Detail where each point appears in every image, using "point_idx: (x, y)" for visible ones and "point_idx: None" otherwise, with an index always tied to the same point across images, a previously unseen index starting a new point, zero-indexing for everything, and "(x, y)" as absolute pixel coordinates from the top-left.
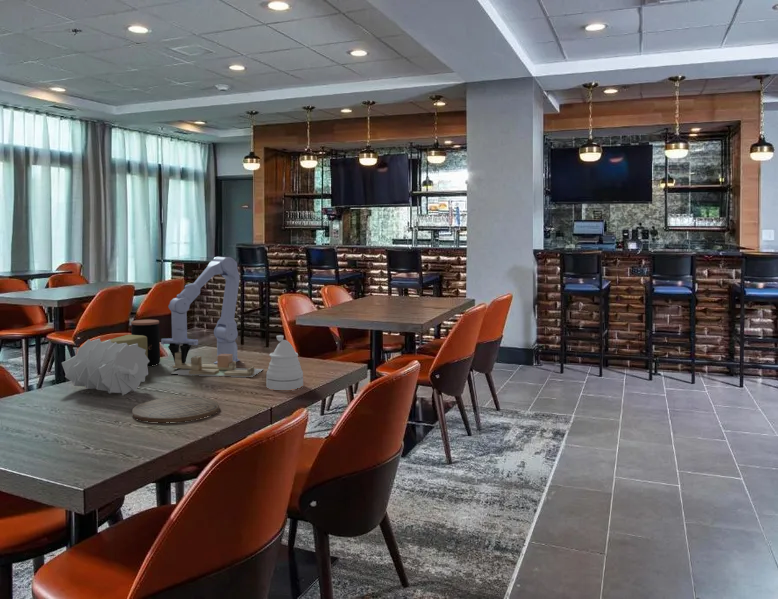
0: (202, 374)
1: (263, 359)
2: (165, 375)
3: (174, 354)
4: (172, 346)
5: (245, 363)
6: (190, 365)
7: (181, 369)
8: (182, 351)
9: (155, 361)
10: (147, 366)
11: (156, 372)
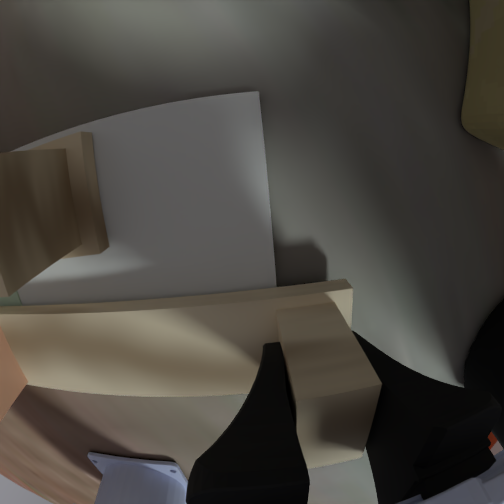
0: None
1: (79, 496)
2: (288, 60)
3: (381, 374)
4: (451, 428)
5: (69, 463)
6: (193, 337)
7: (260, 283)
8: (268, 423)
9: (487, 351)
10: (489, 121)
11: (419, 161)
